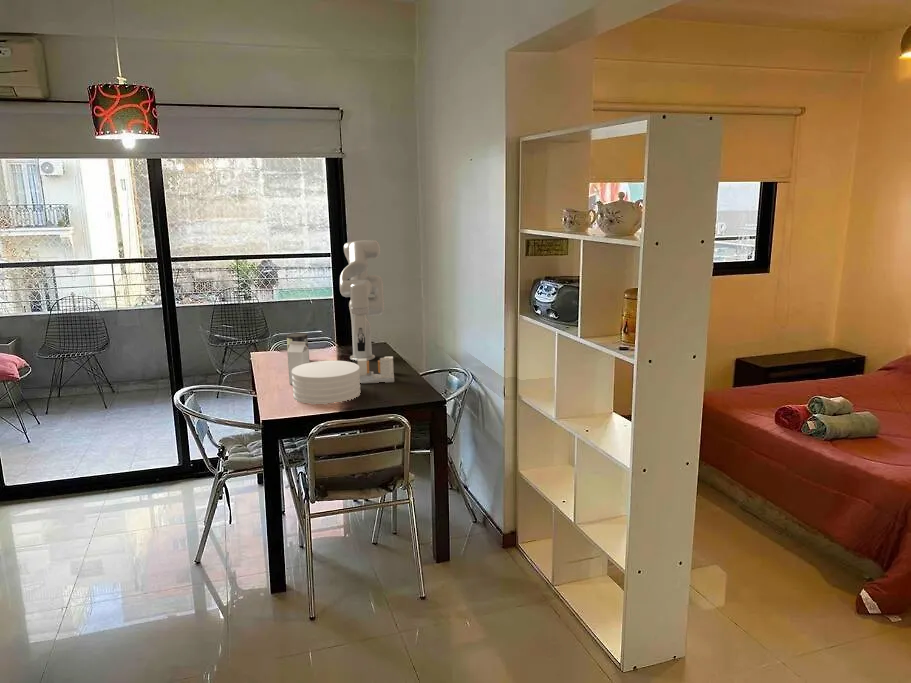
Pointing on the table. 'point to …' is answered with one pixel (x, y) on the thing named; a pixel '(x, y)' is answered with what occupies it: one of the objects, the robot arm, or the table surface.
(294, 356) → the milk carton
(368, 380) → the rail
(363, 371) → the right finger
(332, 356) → the table surface
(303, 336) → the coffee can
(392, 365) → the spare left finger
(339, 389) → the plate stack
